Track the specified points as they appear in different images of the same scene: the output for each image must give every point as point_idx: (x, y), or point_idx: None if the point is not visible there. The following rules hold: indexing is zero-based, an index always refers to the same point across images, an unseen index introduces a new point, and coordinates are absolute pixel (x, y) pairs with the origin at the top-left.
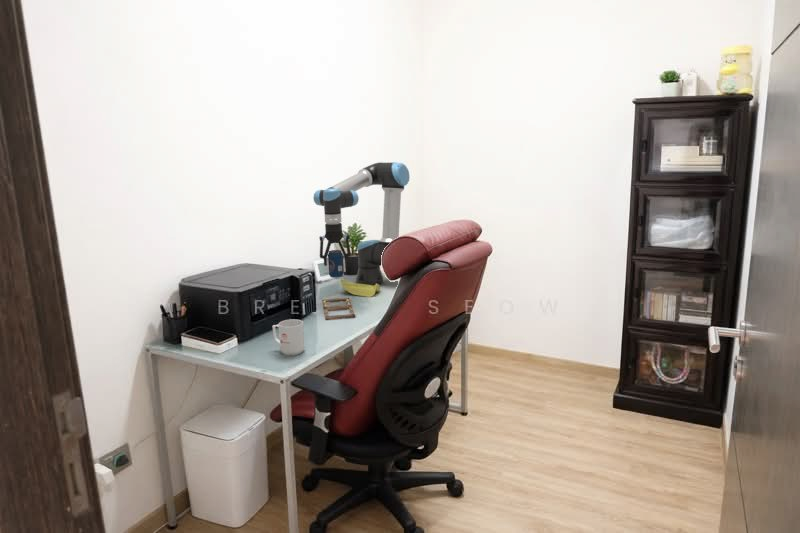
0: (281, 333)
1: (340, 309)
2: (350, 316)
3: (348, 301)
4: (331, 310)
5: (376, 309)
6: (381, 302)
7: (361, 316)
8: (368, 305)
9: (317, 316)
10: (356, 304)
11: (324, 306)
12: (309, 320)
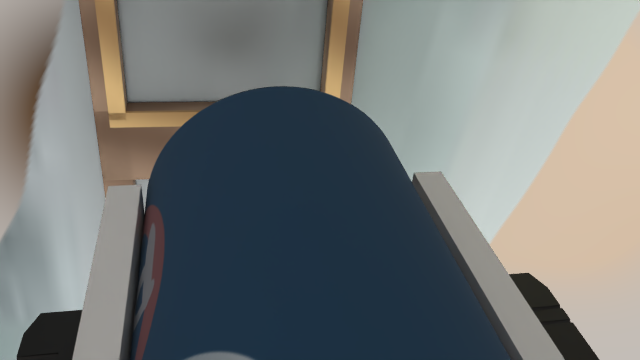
0: None
1: None
2: None
3: (345, 10)
4: None
5: (496, 194)
6: (604, 37)
7: None
8: (482, 91)
9: (59, 265)
10: (402, 38)
11: (103, 100)
12: (7, 329)
